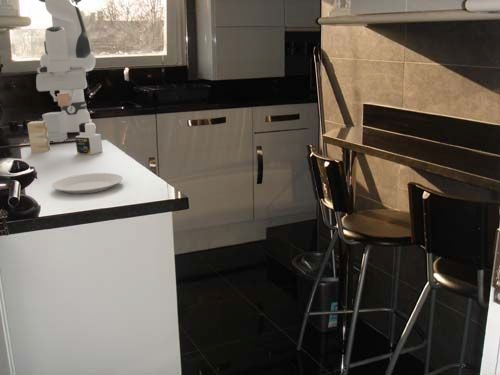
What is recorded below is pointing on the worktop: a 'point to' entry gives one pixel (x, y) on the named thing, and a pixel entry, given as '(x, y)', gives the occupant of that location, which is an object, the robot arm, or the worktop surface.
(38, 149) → the tower base
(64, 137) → the supplement box
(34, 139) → the tower mid
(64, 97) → the pink rounded cylinder
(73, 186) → the plate
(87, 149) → the medicine bottle
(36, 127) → the tower top
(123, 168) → the worktop surface
